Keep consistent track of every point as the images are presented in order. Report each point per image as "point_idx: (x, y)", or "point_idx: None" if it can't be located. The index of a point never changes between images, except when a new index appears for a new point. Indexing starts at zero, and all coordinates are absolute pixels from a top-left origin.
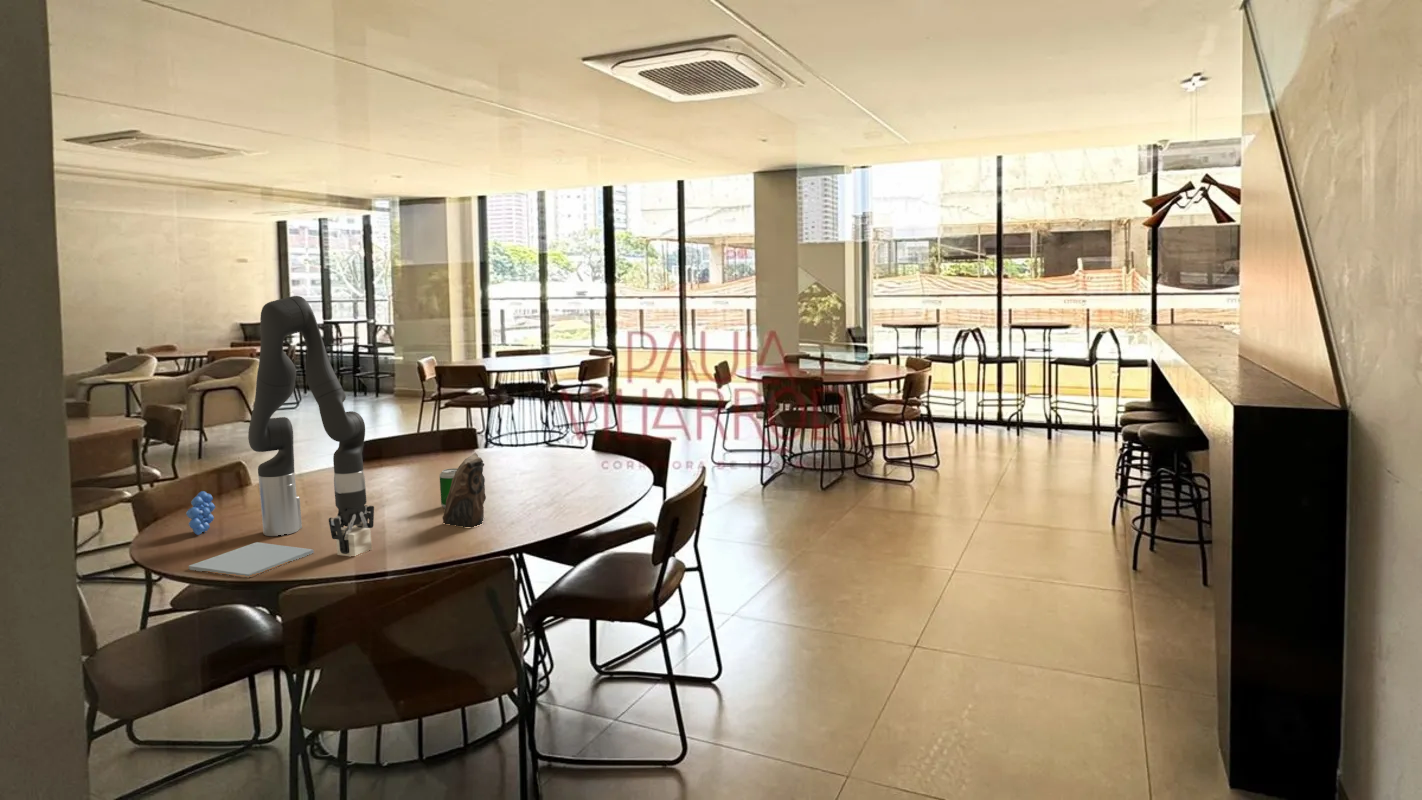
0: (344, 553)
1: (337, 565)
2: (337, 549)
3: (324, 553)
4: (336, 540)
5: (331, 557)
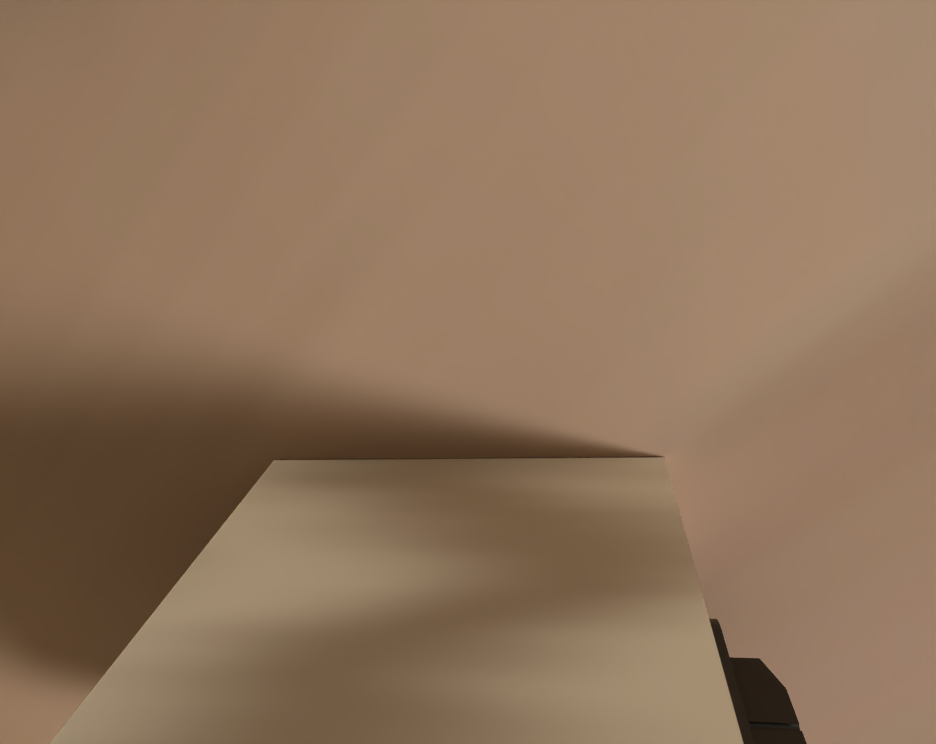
0: None
1: (30, 734)
2: (238, 522)
3: (202, 199)
4: (129, 653)
5: (149, 472)
